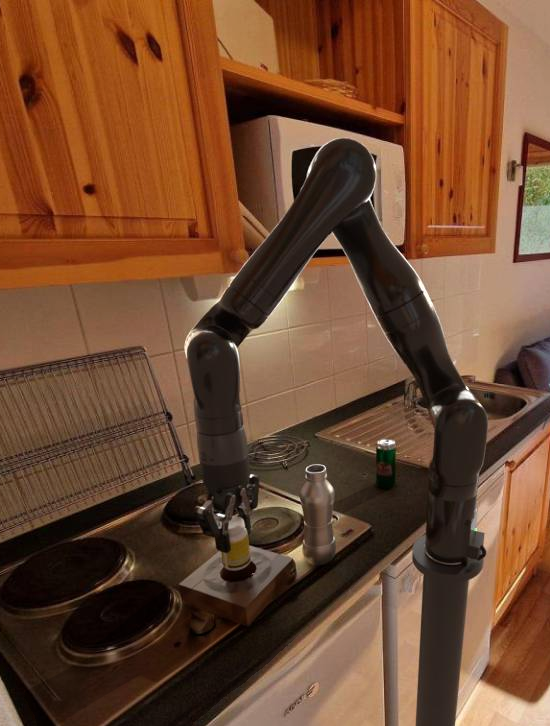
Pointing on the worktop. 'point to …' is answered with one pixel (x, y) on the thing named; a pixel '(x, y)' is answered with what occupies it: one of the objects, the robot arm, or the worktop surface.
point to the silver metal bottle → (317, 516)
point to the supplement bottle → (237, 545)
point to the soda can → (386, 463)
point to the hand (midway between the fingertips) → (234, 542)
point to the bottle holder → (237, 585)
